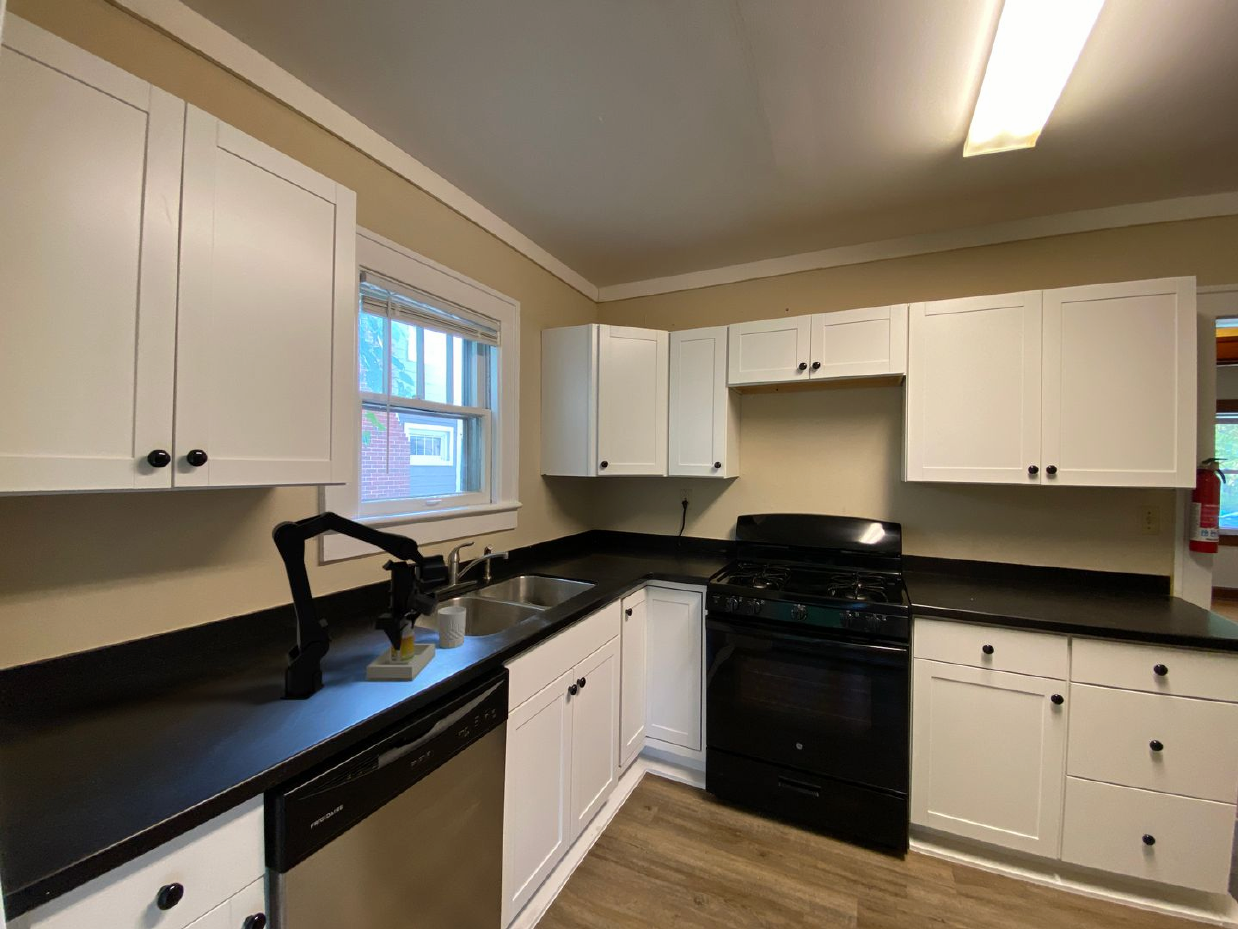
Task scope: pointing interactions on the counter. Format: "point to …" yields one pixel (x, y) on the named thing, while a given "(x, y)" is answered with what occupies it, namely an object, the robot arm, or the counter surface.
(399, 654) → the supplement bottle
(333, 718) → the counter surface
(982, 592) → the counter surface
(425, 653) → the box
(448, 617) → the white cup
